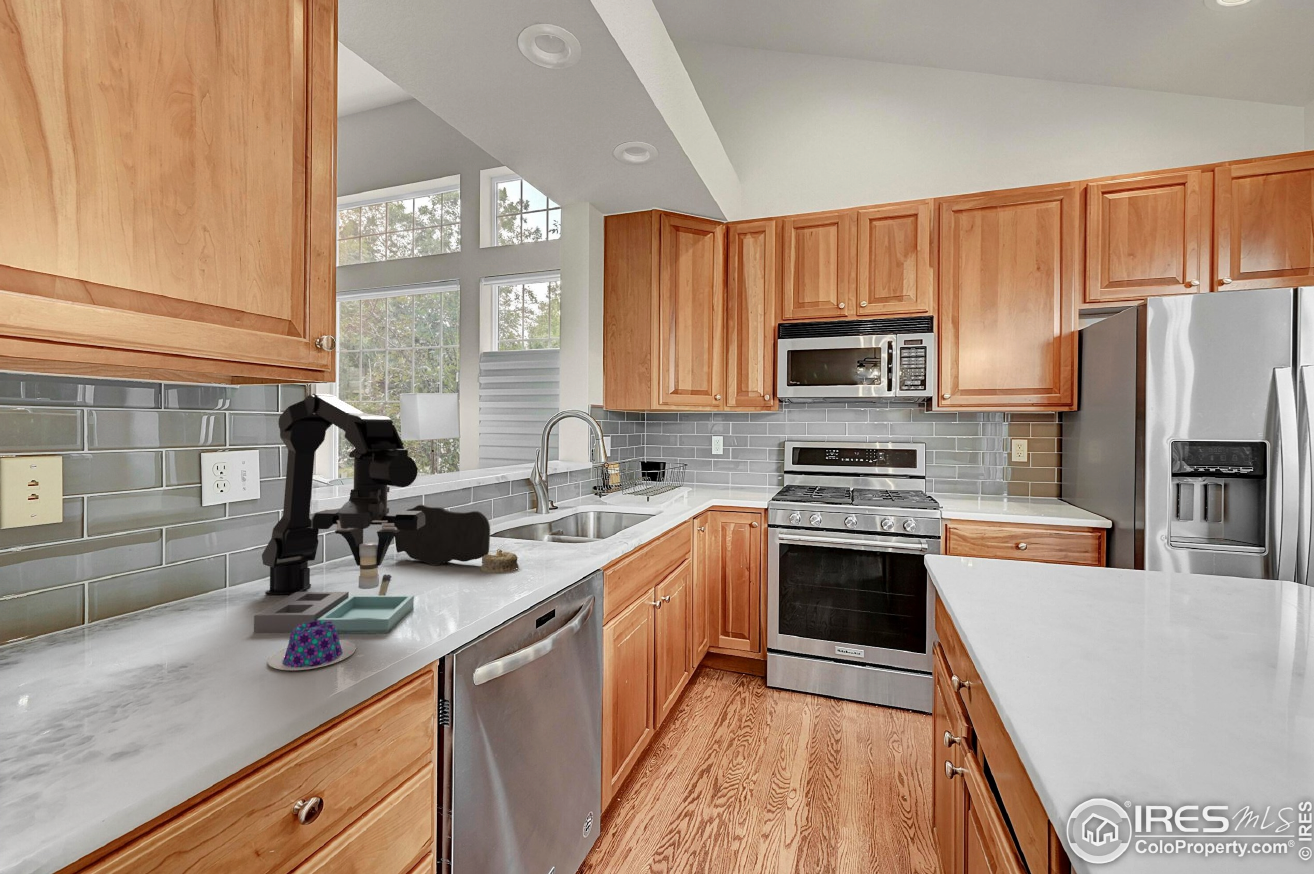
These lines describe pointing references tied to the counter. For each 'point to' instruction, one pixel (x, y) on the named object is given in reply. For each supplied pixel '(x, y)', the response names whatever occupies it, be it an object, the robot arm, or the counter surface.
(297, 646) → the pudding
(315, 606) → the block
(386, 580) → the tomahawk
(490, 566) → the cake
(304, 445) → the robot arm
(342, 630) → the parts tray
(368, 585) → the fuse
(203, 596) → the counter surface
